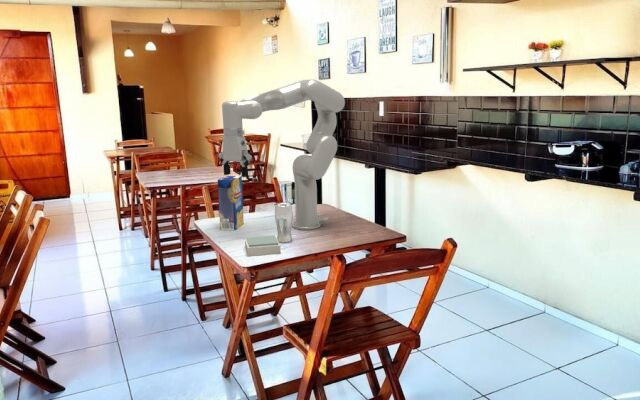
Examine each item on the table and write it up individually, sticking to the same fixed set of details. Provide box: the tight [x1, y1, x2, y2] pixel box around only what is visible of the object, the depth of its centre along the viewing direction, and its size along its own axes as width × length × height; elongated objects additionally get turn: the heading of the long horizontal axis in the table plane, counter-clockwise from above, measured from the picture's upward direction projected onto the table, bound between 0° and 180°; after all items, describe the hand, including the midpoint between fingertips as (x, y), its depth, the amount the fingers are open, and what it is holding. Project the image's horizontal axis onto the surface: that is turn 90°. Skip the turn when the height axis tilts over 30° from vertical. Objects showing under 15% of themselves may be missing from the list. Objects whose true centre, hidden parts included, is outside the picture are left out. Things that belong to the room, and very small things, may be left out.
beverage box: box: [217, 175, 245, 231], centre depth 231 cm, size 7×11×22 cm, turn 168°
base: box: [244, 234, 282, 257], centre depth 198 cm, size 12×12×4 cm
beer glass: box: [274, 202, 294, 244], centre depth 209 cm, size 7×7×15 cm
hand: (235, 175), depth 212 cm, fingers open, 9 cm apart
